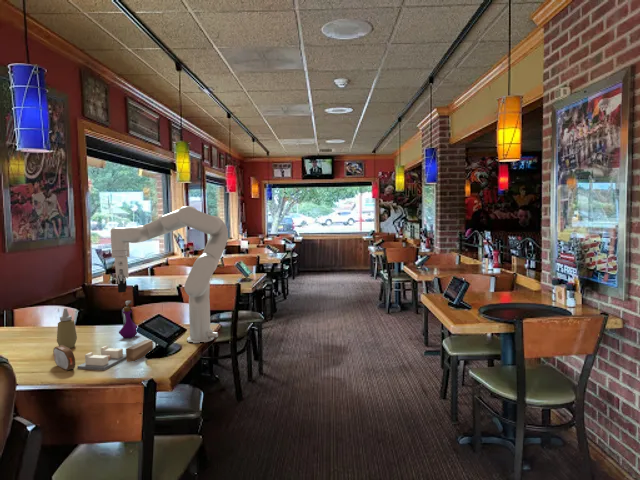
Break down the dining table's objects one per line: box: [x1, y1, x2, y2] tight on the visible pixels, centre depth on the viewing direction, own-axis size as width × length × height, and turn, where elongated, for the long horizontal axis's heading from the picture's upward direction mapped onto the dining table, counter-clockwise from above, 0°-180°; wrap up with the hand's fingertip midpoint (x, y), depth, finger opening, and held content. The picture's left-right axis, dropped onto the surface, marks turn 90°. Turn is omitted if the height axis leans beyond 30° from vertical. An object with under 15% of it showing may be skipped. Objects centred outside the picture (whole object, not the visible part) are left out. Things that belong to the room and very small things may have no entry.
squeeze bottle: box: [56, 308, 78, 349], centre depth 199 cm, size 8×8×18 cm
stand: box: [76, 345, 126, 371], centre depth 178 cm, size 12×16×5 cm
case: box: [125, 339, 154, 363], centre depth 185 cm, size 4×13×6 cm, turn 167°
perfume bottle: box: [118, 300, 138, 339], centre depth 215 cm, size 8×8×18 cm
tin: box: [53, 345, 76, 371], centre depth 172 cm, size 15×3×8 cm, turn 51°
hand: (122, 290), depth 203 cm, fingers open, 9 cm apart
